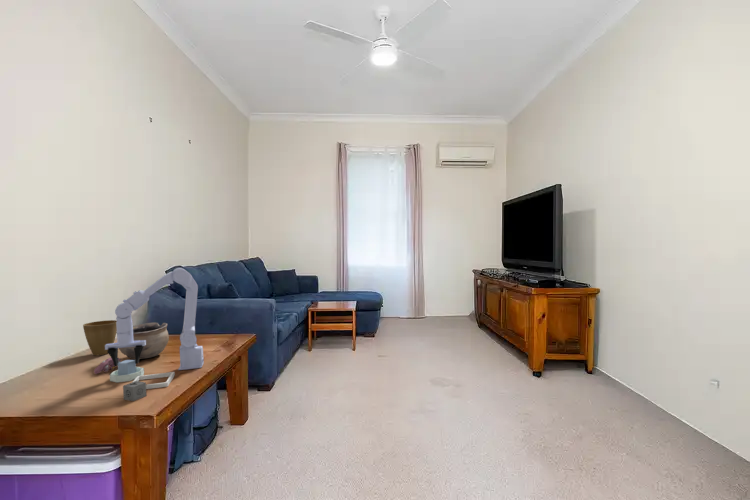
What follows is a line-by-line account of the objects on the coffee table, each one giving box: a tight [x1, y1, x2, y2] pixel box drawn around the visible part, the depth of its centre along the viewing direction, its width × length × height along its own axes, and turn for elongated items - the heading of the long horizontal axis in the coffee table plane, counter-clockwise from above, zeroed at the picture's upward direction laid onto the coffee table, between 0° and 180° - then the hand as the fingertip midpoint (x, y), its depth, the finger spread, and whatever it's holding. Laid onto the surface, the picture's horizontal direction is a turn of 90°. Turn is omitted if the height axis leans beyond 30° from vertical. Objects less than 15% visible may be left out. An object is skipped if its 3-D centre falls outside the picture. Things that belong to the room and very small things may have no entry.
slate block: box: [117, 359, 137, 376], centre depth 168 cm, size 4×4×6 cm
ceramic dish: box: [109, 366, 145, 383], centre depth 168 cm, size 11×11×2 cm
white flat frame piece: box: [132, 371, 176, 390], centre depth 160 cm, size 14×14×2 cm
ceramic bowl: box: [116, 322, 170, 360], centre depth 197 cm, size 22×22×15 cm
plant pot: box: [82, 319, 117, 357], centre depth 207 cm, size 15×15×16 cm
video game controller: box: [93, 357, 122, 375], centre depth 178 cm, size 10×5×7 cm, turn 170°
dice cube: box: [122, 380, 147, 402], centre depth 145 cm, size 5×5×5 cm
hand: (126, 364), depth 168 cm, fingers open, 7 cm apart
